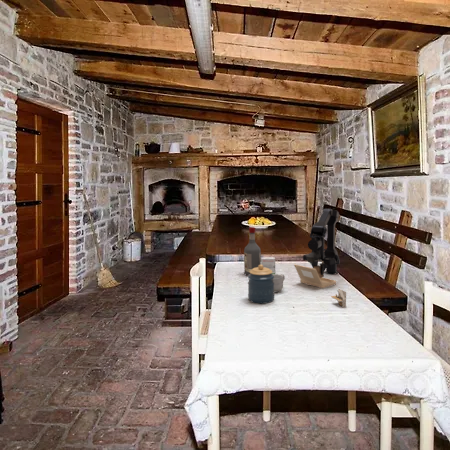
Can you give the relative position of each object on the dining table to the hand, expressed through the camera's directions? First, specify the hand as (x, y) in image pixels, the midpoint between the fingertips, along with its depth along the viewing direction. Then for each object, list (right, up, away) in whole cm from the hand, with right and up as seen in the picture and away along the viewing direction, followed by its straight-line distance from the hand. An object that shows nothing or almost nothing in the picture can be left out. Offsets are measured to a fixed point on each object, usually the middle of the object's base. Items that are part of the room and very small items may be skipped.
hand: (318, 274), depth 193 cm
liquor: (-36, -4, +22) cm, 42 cm away
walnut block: (0, -2, 0) cm, 2 cm away
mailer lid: (-7, +1, -6) cm, 9 cm away
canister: (-35, -9, -25) cm, 44 cm away
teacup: (-26, -7, -10) cm, 29 cm away
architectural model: (+1, -10, -35) cm, 36 cm away
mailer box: (0, -5, 0) cm, 5 cm away
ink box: (-27, -4, +17) cm, 32 cm away
